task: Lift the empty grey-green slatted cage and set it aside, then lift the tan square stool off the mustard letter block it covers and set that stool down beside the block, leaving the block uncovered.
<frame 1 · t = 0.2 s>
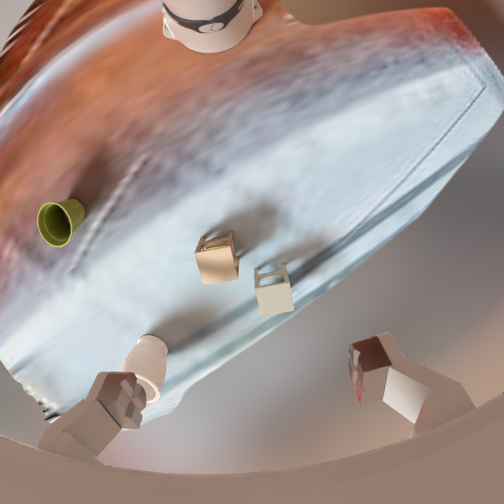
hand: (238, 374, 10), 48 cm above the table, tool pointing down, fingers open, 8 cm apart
jar: (152, 346, 70), on the table
plant pot: (75, 212, 56), on the table
tan square stool: (220, 248, 60), on the table
letter block: (220, 248, 60), on the table
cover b: (271, 279, 63), on the table
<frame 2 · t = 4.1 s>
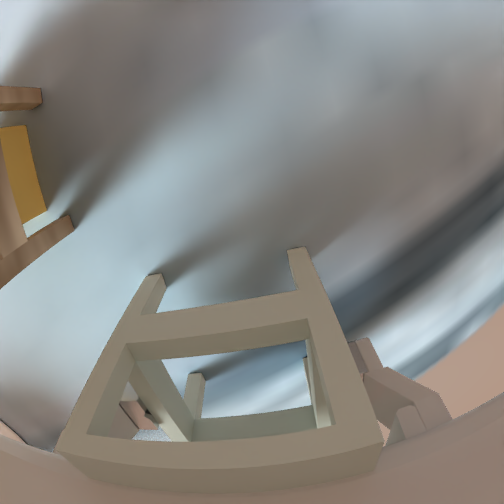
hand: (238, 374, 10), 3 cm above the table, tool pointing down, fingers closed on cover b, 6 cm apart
jar: (5, 430, 20), on the table
tan square stool: (7, 182, 10), on the table
letter block: (9, 181, 10), on the table
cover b: (239, 327, 13), on the table, touching gripper
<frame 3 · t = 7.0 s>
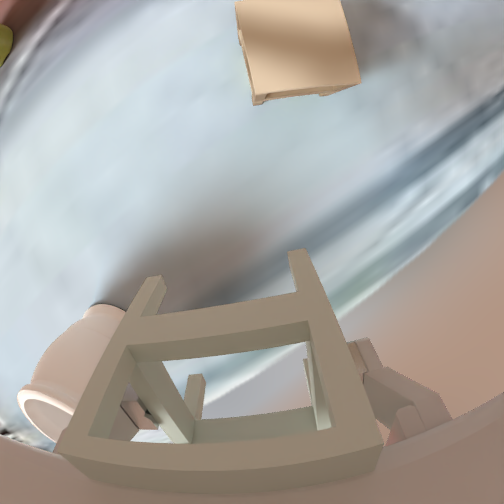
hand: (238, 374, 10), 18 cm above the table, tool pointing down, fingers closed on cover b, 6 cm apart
jar: (114, 331, 32), on the table
tan square stool: (283, 65, 21), on the table
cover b: (240, 329, 13), point 15 cm above the table, touching gripper
when the fingers open (4 cm above the table, at t = 10.0 s): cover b stays where it is, on the table.
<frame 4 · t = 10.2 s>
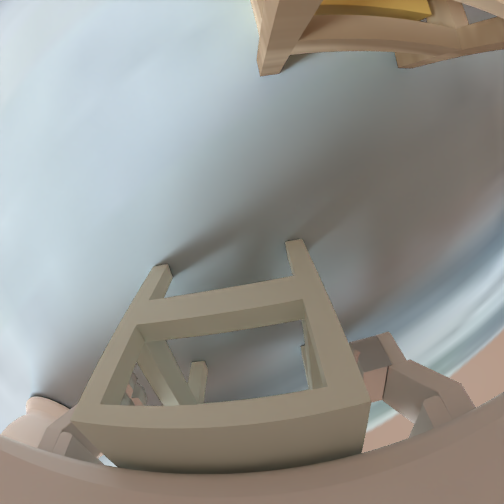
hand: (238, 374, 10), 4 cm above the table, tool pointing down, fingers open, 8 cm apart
jar: (67, 423, 19), on the table
letter block: (323, 0, 8), on the table
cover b: (241, 316, 13), on the table
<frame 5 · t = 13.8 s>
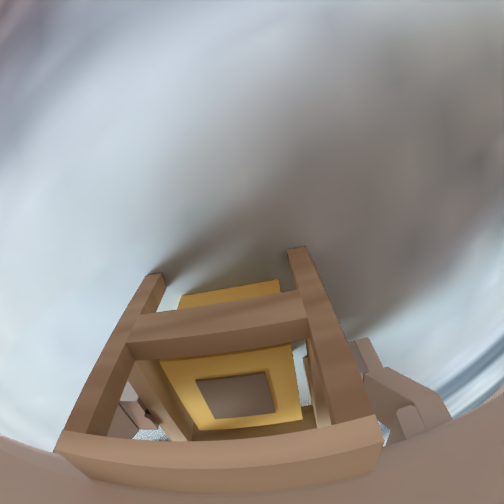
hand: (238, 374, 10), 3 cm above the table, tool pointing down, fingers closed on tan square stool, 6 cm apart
tan square stool: (239, 327, 12), on the table, touching gripper
letter block: (239, 325, 13), on the table
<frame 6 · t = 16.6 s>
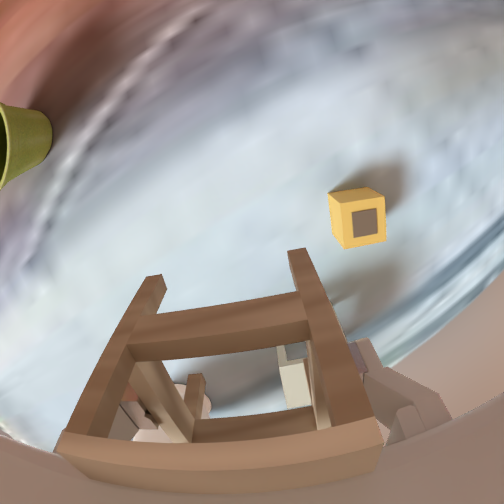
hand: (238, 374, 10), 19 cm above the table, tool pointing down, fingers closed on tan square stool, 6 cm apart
jar: (182, 399, 37), on the table
plant pot: (34, 138, 23), on the table
tan square stool: (239, 328, 12), point 16 cm above the table, touching gripper
letter block: (349, 209, 27), on the table
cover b: (304, 330, 32), on the table
when the fingers open (4 cm above the table, at t = 19.7 s): tan square stool stays where it is, on the table.
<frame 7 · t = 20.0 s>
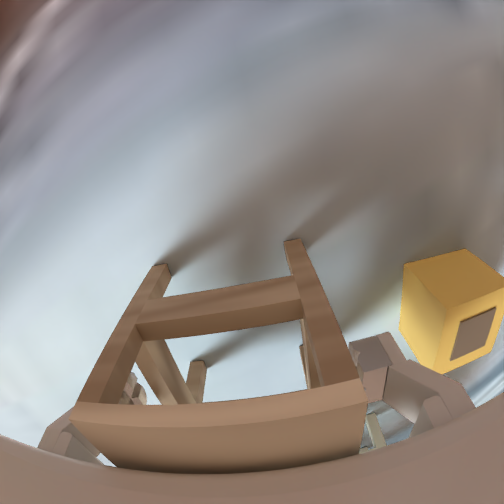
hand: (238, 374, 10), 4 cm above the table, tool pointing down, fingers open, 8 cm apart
tan square stool: (239, 315, 13), on the table
letter block: (432, 289, 13), on the table
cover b: (331, 443, 19), on the table
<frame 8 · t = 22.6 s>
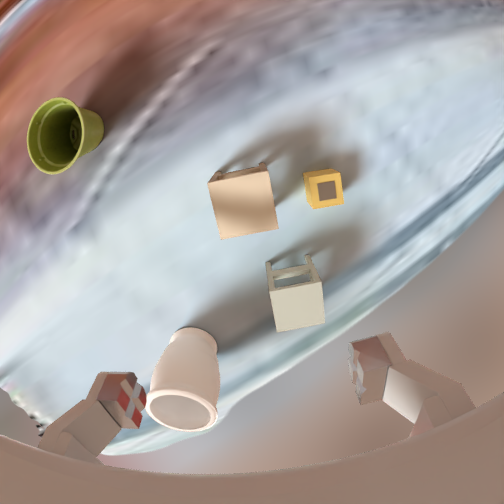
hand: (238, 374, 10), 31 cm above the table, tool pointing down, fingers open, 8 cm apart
jar: (193, 344, 49), on the table
plant pot: (87, 131, 34), on the table
tan square stool: (244, 190, 38), on the table
letter block: (319, 184, 38), on the table
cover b: (290, 277, 44), on the table
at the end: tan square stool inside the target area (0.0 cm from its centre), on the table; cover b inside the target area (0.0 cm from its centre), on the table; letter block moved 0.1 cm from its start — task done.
